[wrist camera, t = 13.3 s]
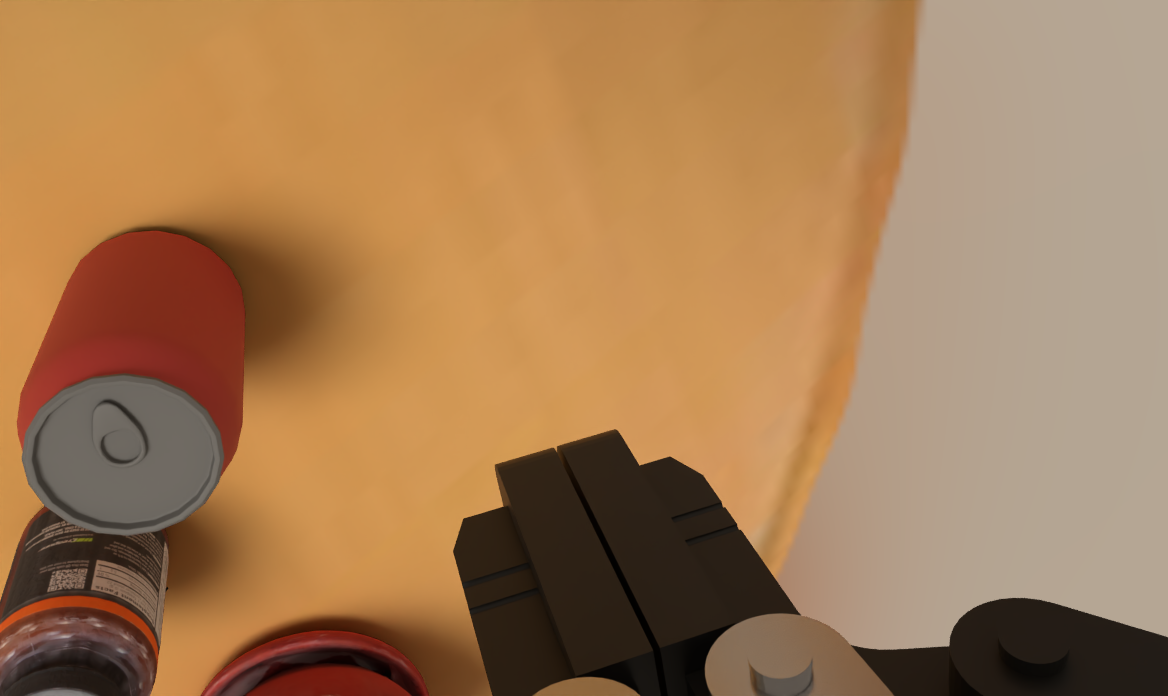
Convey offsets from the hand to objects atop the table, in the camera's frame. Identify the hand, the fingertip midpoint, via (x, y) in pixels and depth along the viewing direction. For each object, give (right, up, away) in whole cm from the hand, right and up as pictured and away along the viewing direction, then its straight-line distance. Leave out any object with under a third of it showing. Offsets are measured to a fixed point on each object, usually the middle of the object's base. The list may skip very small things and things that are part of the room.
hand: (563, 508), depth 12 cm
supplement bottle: (-21, -6, +33) cm, 39 cm away
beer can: (-17, +4, +29) cm, 34 cm away
